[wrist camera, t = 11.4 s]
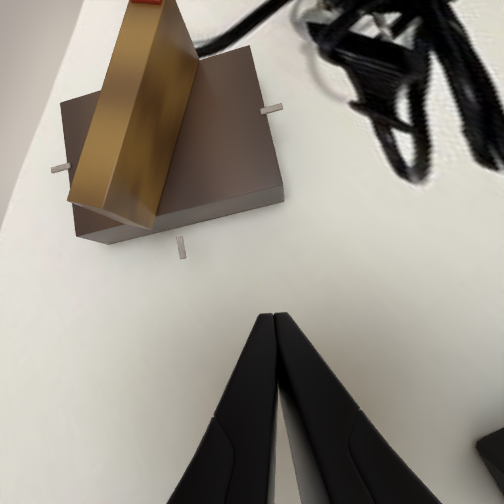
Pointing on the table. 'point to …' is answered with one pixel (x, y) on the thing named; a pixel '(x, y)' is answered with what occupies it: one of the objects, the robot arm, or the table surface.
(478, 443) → the electronic device
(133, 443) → the table surface
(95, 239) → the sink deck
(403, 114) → the table surface
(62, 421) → the table surface
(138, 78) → the tan wooden plank
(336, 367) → the table surface
